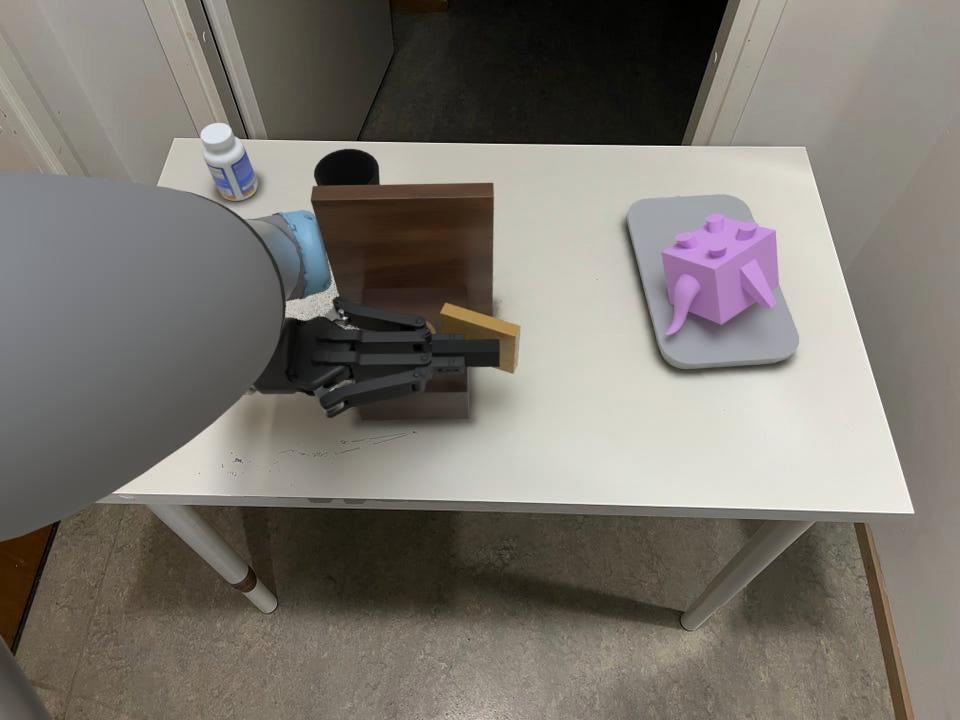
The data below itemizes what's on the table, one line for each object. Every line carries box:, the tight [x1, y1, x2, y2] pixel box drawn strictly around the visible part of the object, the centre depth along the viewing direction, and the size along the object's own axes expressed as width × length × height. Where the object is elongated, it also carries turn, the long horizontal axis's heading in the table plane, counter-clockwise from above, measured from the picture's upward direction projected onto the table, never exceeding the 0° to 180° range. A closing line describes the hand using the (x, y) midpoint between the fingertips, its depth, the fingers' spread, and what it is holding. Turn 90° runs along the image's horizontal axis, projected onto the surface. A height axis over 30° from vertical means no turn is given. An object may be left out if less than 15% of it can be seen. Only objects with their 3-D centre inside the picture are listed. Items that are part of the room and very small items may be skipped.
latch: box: [431, 303, 521, 375], centre depth 71 cm, size 13×3×7 cm, turn 69°
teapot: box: [661, 214, 780, 335], centre depth 77 cm, size 18×13×10 cm
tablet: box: [626, 193, 800, 370], centre depth 85 cm, size 16×26×2 cm, turn 4°
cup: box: [313, 148, 381, 186], centre depth 86 cm, size 8×8×12 cm
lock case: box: [310, 182, 495, 422], centre depth 72 cm, size 16×18×20 cm
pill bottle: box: [200, 122, 259, 202], centre depth 92 cm, size 5×5×10 cm
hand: (499, 353), depth 67 cm, fingers closed
